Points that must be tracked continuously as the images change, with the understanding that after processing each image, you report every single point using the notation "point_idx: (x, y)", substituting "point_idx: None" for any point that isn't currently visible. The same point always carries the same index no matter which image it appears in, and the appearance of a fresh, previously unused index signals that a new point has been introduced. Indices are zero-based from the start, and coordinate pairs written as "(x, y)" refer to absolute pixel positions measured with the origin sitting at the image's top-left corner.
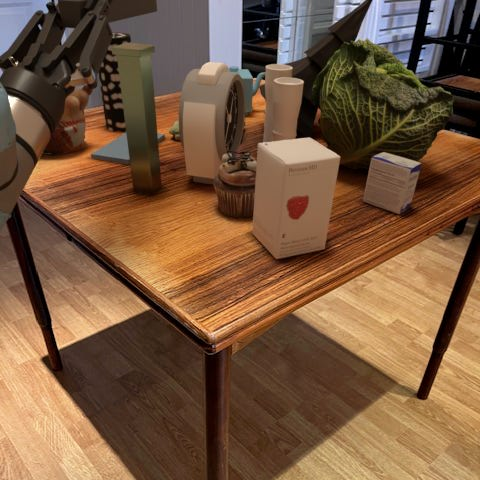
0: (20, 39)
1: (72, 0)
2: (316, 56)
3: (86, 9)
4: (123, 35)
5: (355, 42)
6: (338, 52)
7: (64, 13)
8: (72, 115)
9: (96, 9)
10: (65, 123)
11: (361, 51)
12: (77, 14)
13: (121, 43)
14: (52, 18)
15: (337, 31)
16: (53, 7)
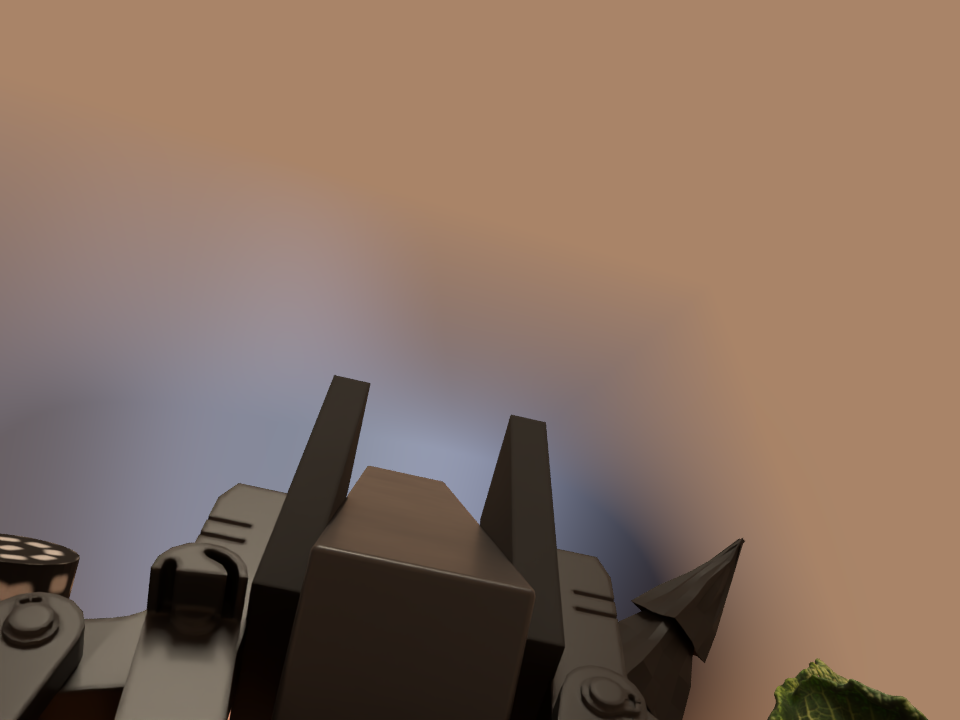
0: None
1: (471, 575)
2: (637, 675)
3: (536, 648)
4: (54, 553)
5: (866, 686)
6: (784, 697)
7: (341, 667)
8: None
9: (582, 646)
10: None
11: (884, 712)
12: (485, 695)
13: (48, 582)
14: (209, 709)
15: (680, 616)
16: (221, 594)
